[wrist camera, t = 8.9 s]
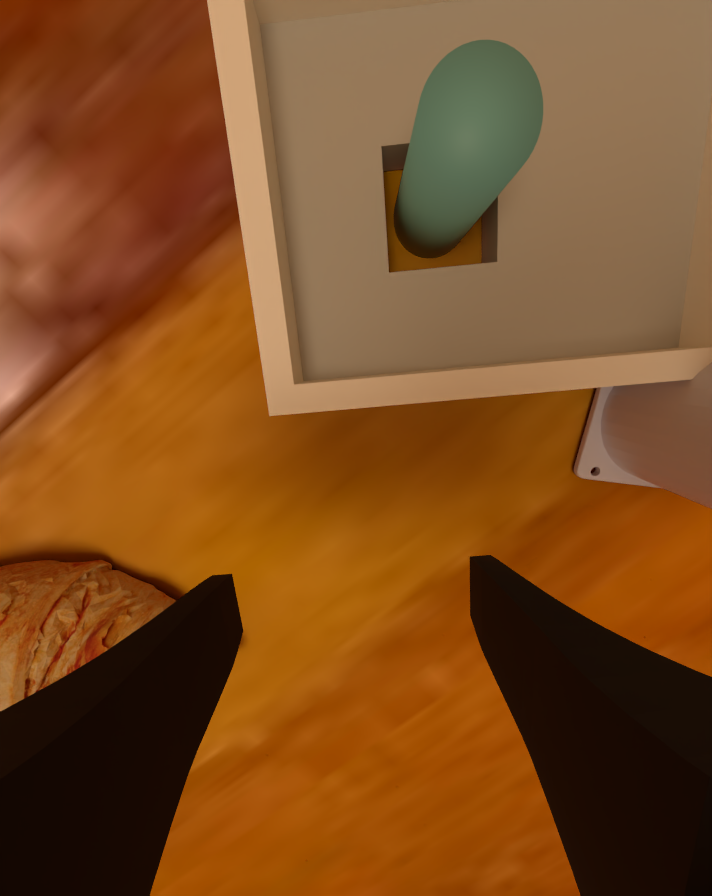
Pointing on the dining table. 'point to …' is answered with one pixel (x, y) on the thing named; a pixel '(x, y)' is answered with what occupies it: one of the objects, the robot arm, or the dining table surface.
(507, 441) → the dining table surface
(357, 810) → the dining table surface
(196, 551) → the dining table surface
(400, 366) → the bore tray
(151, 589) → the croissant
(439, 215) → the peg
